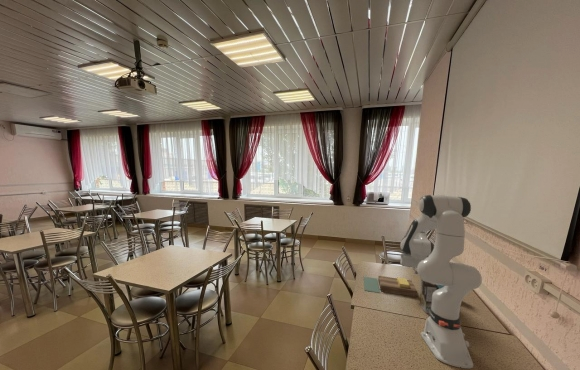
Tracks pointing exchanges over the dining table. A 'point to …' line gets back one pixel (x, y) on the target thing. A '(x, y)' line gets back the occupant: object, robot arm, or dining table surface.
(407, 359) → the dining table surface
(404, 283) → the yellow block
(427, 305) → the coffee box
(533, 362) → the dining table surface
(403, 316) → the dining table surface
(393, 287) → the board
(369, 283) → the mat
